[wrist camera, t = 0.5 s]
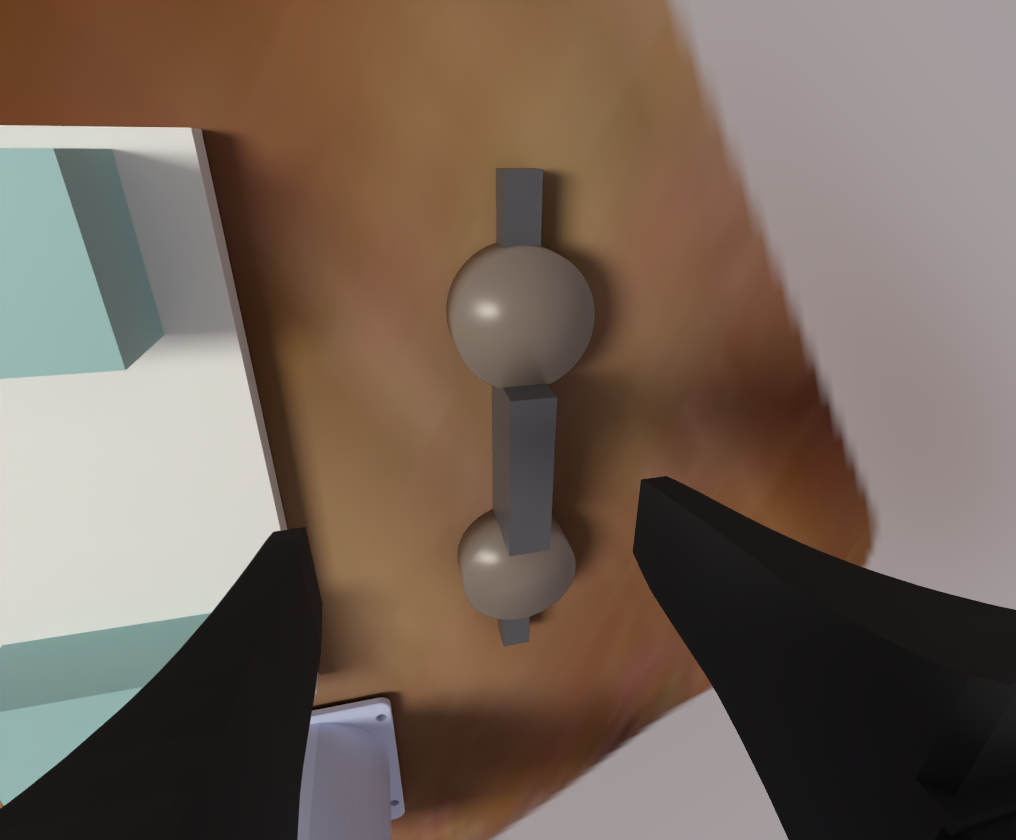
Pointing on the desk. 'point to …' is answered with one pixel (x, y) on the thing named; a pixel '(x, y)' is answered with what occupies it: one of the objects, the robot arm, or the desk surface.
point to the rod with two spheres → (519, 402)
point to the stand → (115, 427)
